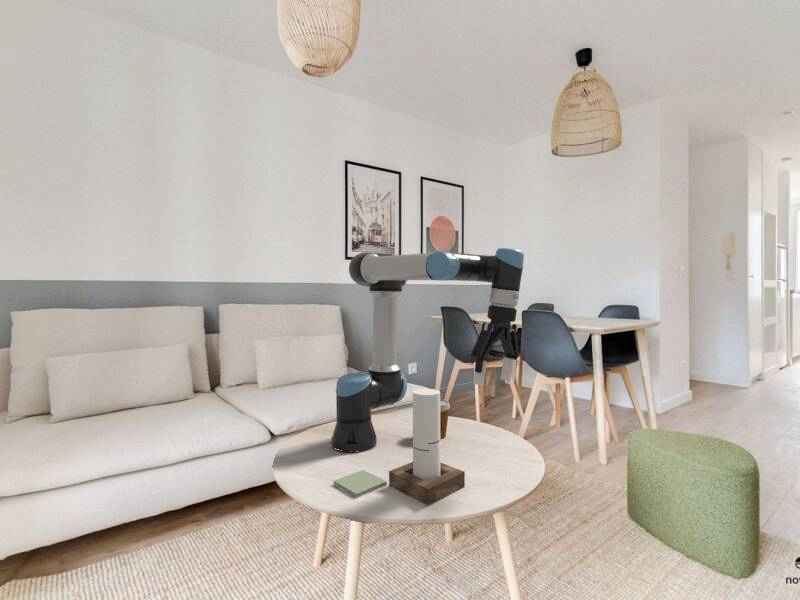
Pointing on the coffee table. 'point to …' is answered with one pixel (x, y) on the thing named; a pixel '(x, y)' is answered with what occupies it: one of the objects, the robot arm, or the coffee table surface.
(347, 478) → the green mat
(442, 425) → the disposable coffee cup
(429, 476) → the cylindrical container
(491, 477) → the coffee table surface
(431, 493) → the frame
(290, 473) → the coffee table surface
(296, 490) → the coffee table surface
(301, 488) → the coffee table surface
